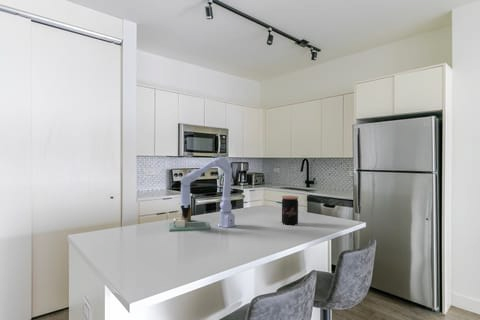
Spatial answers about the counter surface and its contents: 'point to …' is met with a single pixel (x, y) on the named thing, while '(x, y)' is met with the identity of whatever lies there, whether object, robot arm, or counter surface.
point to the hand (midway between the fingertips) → (185, 217)
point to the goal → (179, 222)
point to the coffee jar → (290, 210)
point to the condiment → (188, 215)
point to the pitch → (190, 226)
